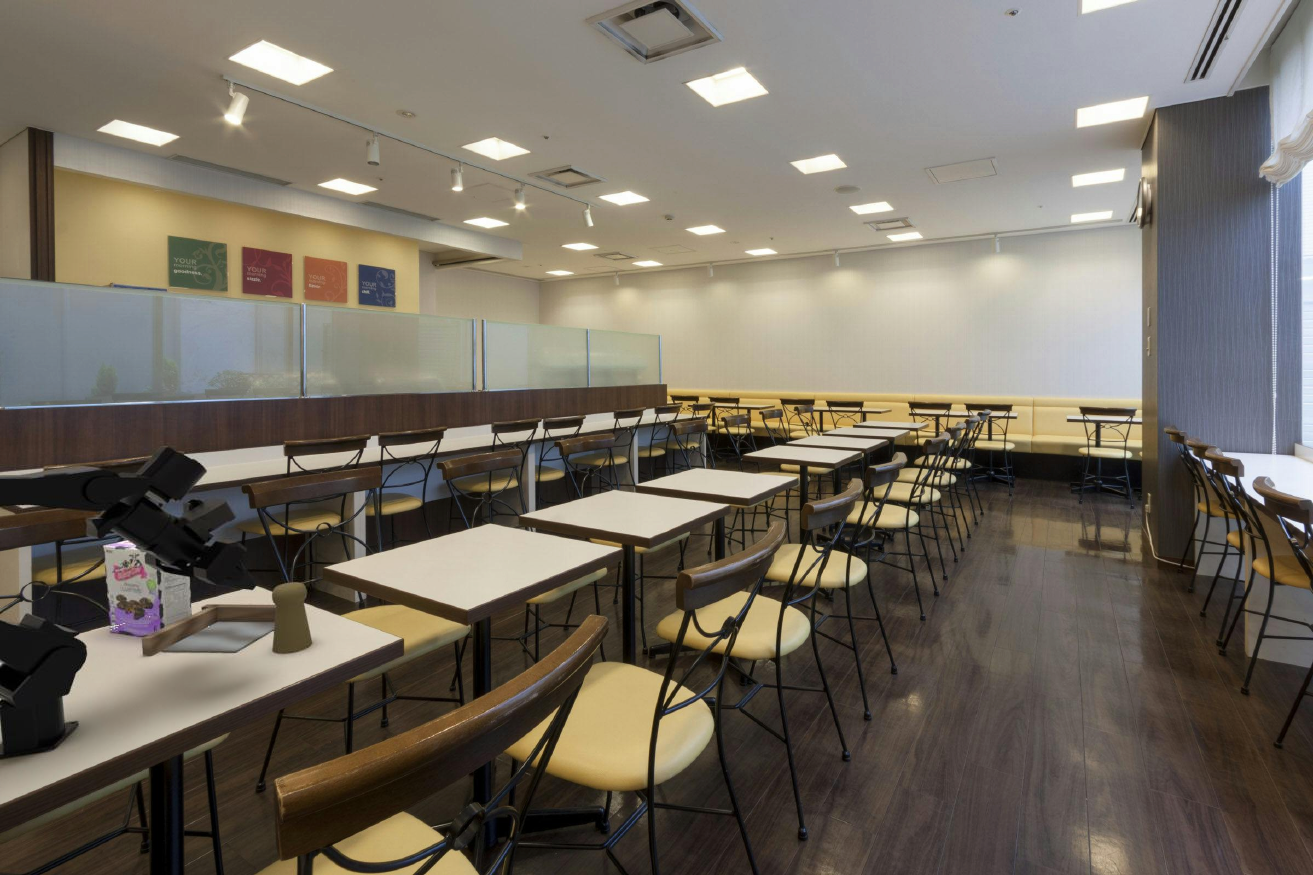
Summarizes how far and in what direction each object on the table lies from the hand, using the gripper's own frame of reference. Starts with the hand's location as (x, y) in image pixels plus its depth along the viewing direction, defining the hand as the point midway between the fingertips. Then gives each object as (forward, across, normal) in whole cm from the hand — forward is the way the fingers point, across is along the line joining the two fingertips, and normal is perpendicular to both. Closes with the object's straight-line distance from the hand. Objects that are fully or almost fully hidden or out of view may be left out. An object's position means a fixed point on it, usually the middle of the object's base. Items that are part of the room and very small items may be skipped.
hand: (238, 583), depth 101 cm
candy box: (+10, +30, +9) cm, 33 cm away
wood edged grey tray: (+13, +14, +6) cm, 20 cm away
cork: (+15, 0, +4) cm, 16 cm away
